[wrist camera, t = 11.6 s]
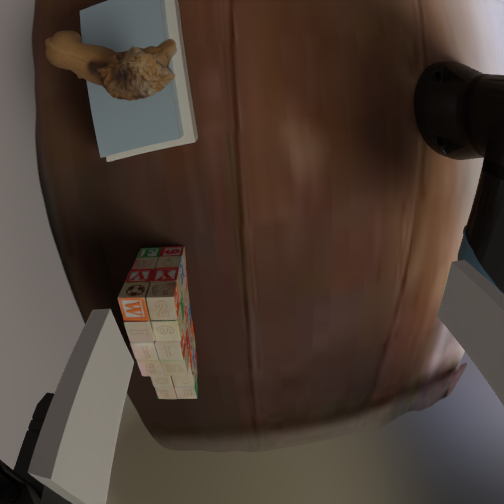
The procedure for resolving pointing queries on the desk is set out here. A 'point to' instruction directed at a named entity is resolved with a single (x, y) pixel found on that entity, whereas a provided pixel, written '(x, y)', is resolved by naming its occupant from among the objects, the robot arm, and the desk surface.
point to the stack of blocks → (161, 321)
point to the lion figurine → (114, 65)
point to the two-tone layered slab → (151, 108)
